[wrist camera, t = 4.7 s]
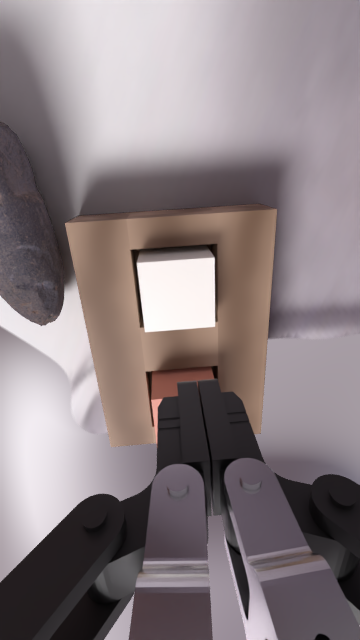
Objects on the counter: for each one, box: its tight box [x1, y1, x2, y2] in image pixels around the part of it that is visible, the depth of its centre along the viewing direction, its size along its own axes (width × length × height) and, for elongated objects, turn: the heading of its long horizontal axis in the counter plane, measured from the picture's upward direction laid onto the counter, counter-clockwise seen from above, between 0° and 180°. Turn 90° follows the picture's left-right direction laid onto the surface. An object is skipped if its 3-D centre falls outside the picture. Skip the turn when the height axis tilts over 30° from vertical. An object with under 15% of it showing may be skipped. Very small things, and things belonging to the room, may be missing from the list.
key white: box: [137, 245, 215, 332], centre depth 23 cm, size 5×5×4 cm
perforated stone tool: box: [0, 122, 64, 326], centre depth 21 cm, size 15×5×7 cm, turn 11°
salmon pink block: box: [151, 366, 214, 443], centre depth 26 cm, size 5×5×4 cm
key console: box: [65, 204, 277, 447], centre depth 27 cm, size 14×20×4 cm
